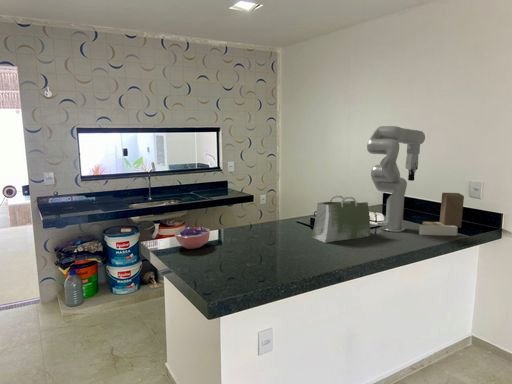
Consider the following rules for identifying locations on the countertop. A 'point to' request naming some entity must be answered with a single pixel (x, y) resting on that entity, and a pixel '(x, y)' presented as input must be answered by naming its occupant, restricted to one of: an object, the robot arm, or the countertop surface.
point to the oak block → (433, 223)
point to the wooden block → (451, 209)
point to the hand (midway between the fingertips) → (411, 180)
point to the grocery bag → (341, 220)
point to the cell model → (192, 237)
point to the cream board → (438, 230)
